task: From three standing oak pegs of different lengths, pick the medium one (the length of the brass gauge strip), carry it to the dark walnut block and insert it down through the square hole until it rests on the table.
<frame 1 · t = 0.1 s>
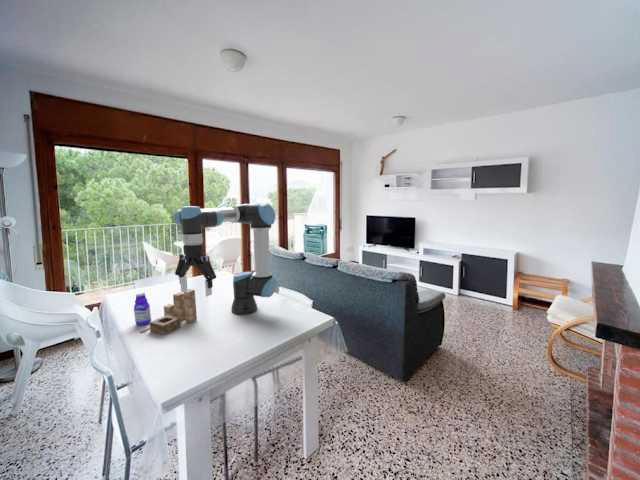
hand: (196, 293, 121), 28 cm above the table, fingers open, 13 cm apart
peg short: (170, 317, 164), on the table
hole block: (166, 329, 149), on the table
gauge strip: (154, 326, 152), on the table
peg long: (191, 321, 158), on the table
bottle: (143, 323, 156), on the table
peg medium: (180, 319, 161), on the table
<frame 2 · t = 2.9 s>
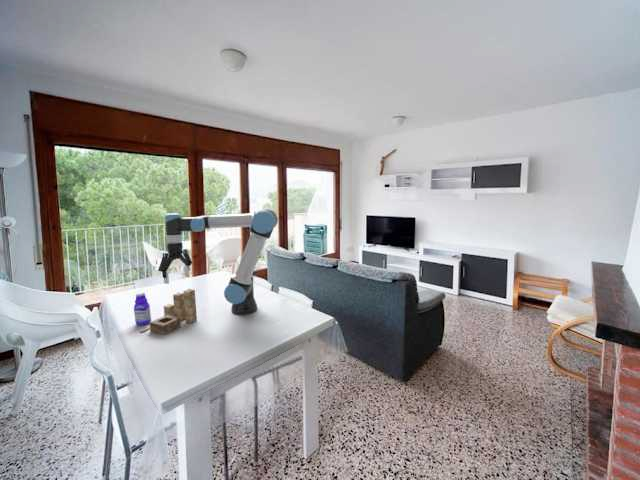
hand: (177, 280, 158), 23 cm above the table, fingers open, 13 cm apart
nothing on the table moved.
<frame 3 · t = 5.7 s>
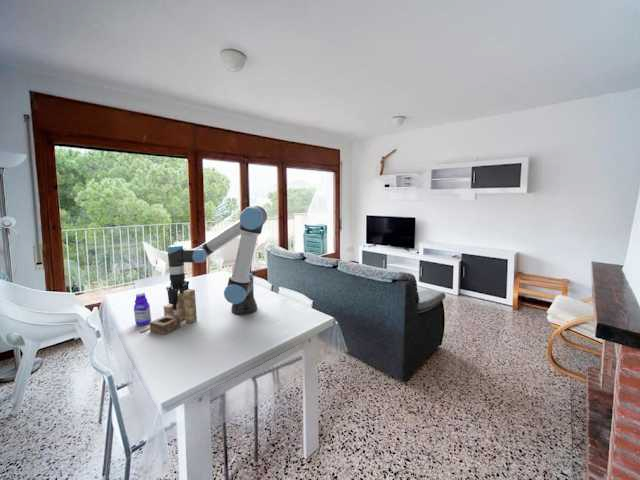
hand: (180, 313, 161), 4 cm above the table, fingers closed on peg medium, 4 cm apart
peg medium: (180, 319, 161), on the table, touching gripper
everything else where it was.
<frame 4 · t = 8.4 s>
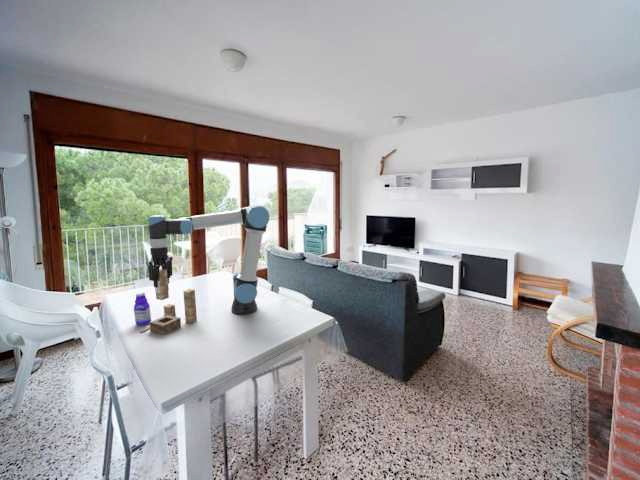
hand: (162, 291, 146), 21 cm above the table, fingers closed on peg medium, 4 cm apart
peg medium: (162, 298, 146), point 17 cm above the table, touching gripper
everything else where it was.
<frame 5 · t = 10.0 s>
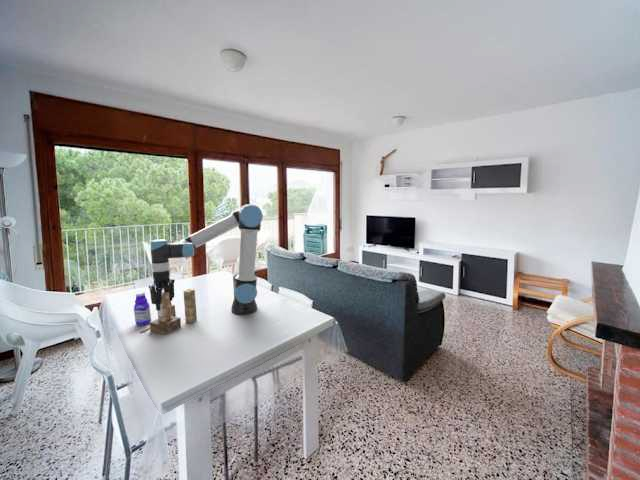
hand: (164, 314, 148), 8 cm above the table, fingers closed on peg medium, 4 cm apart
peg medium: (164, 320, 148), point 5 cm above the table, touching gripper
everything else where it was.
when the fingers open (6 cm above the table, at t = 11.1 s): peg medium drops 2 cm, resting in hole block.
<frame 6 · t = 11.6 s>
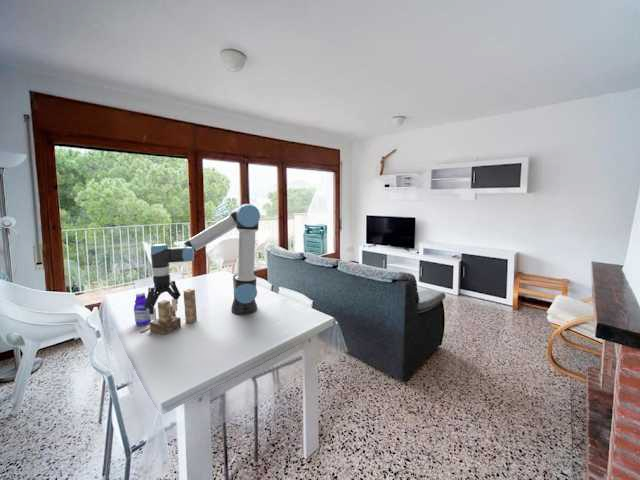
hand: (164, 315, 148), 8 cm above the table, fingers open, 12 cm apart
peg medium: (166, 329, 149), resting in hole block
everything else where it was.
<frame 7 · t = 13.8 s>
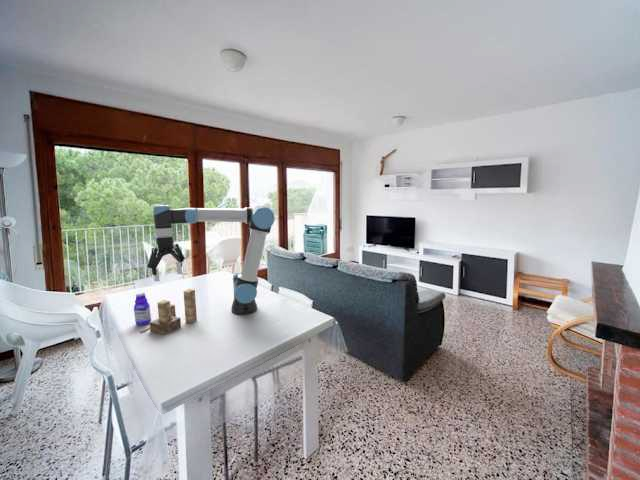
hand: (168, 277, 146), 28 cm above the table, fingers open, 13 cm apart
nothing on the table moved.
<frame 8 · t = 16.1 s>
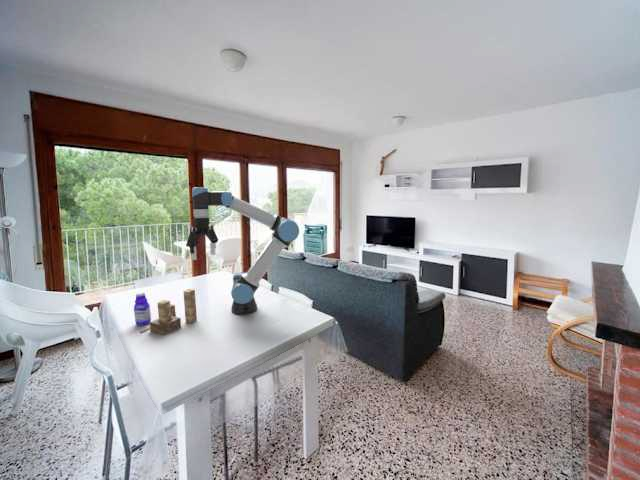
hand: (204, 257, 152), 37 cm above the table, fingers open, 13 cm apart
nothing on the table moved.
at the end: peg medium 0.1 cm off-centre on the hole block, point 0.0 cm above the hole block's base; peg medium tilted 0°; the gripper is holding nothing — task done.
